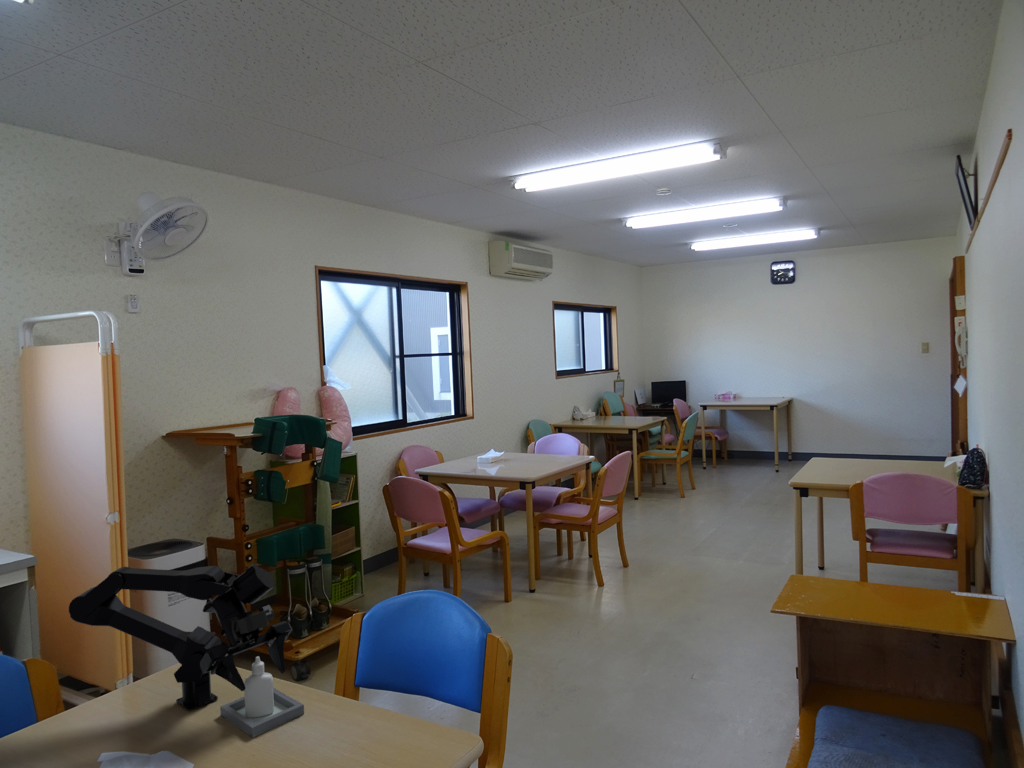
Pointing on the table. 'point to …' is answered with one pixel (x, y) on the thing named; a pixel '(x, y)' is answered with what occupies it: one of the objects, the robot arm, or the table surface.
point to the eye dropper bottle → (258, 692)
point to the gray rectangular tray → (282, 713)
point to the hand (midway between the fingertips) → (264, 681)
